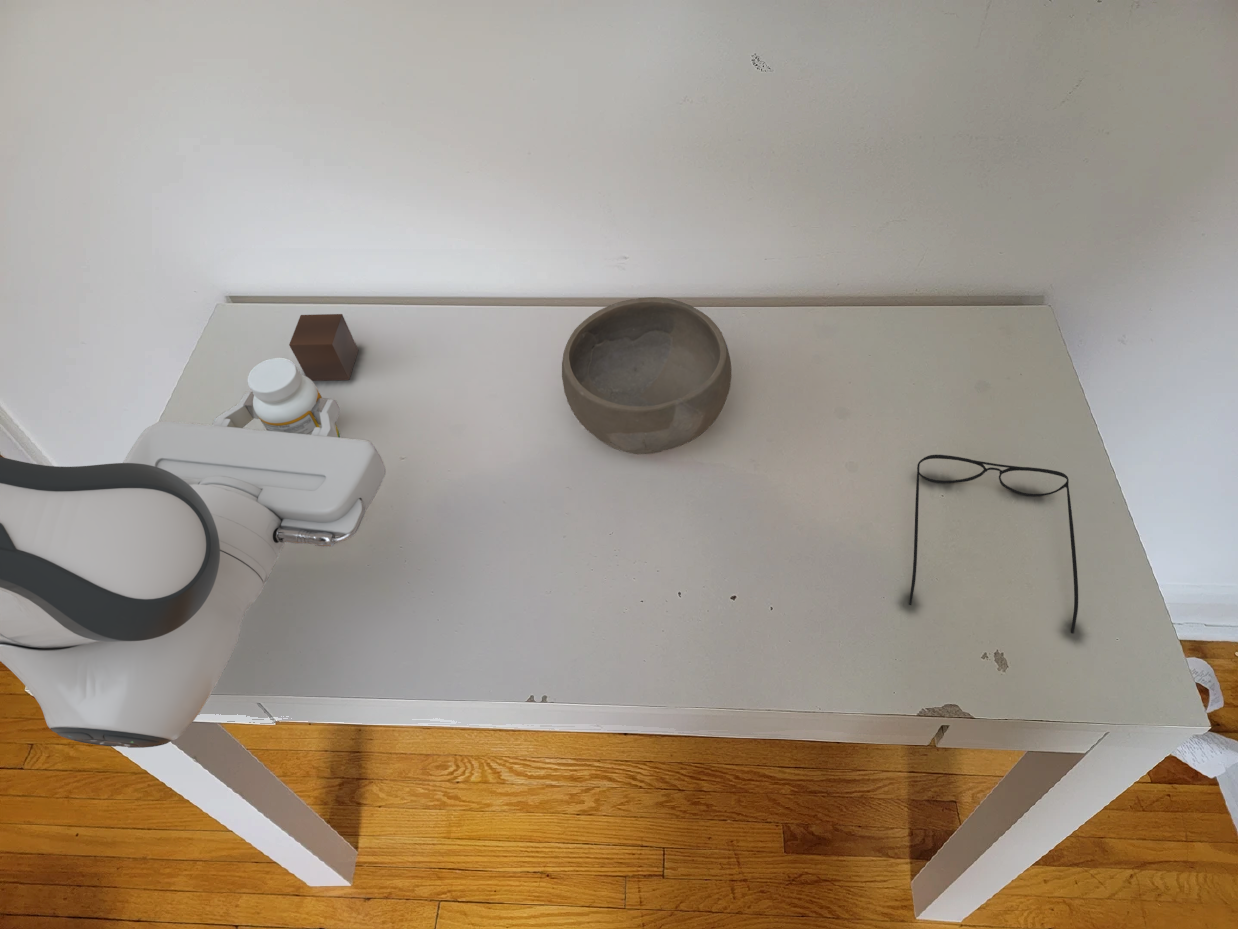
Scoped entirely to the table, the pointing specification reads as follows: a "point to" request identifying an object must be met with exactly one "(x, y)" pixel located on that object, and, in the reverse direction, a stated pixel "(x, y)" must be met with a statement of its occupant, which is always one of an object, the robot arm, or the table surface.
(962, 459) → the glasses
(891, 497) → the table surface
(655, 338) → the bowl
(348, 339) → the walnut block
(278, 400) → the supplement bottle
